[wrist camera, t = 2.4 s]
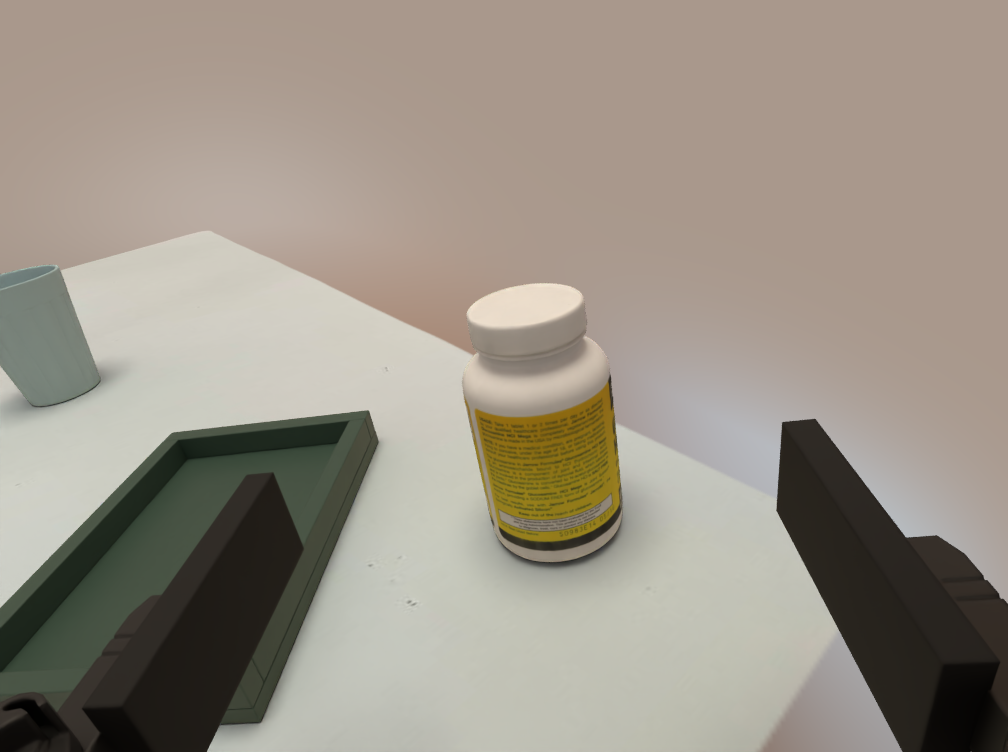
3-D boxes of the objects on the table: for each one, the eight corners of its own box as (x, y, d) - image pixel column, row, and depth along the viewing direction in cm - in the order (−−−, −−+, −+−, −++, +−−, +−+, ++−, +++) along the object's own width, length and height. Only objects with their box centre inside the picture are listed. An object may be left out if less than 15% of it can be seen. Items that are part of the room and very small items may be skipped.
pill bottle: (652, 526, 27) (638, 297, 22) (536, 591, 25) (491, 352, 20) (574, 463, 32) (549, 266, 27) (472, 513, 30) (423, 307, 25)
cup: (-8, 417, 51) (-80, 302, 46) (60, 374, 58) (3, 270, 53) (71, 410, 50) (4, 291, 45) (131, 367, 56) (78, 260, 52)
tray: (260, 722, 22) (238, 681, 21) (-56, 738, 23) (-92, 700, 22) (378, 441, 38) (369, 409, 37) (186, 461, 39) (171, 432, 38)
